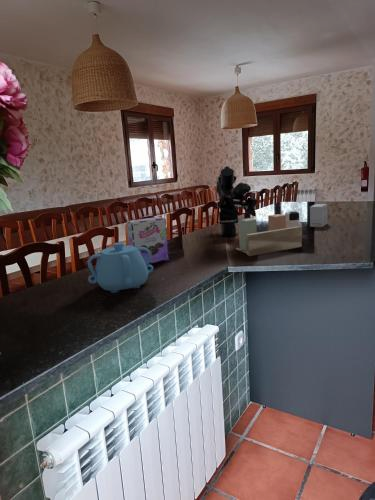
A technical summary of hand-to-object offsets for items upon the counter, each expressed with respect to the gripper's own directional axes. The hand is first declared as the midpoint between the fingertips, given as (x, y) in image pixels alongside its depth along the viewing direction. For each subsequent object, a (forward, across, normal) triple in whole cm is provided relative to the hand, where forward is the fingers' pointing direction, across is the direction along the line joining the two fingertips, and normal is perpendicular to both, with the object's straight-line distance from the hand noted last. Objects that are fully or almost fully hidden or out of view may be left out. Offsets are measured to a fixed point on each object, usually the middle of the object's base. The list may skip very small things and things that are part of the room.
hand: (247, 215), depth 147 cm
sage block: (+13, -4, +7) cm, 15 cm away
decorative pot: (+25, -59, +12) cm, 65 cm away
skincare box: (-3, +54, +6) cm, 55 cm away
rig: (+16, +3, +4) cm, 17 cm away
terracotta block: (+14, +10, +4) cm, 17 cm away
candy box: (+7, -41, +20) cm, 46 cm away
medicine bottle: (+10, +22, +4) cm, 24 cm away
